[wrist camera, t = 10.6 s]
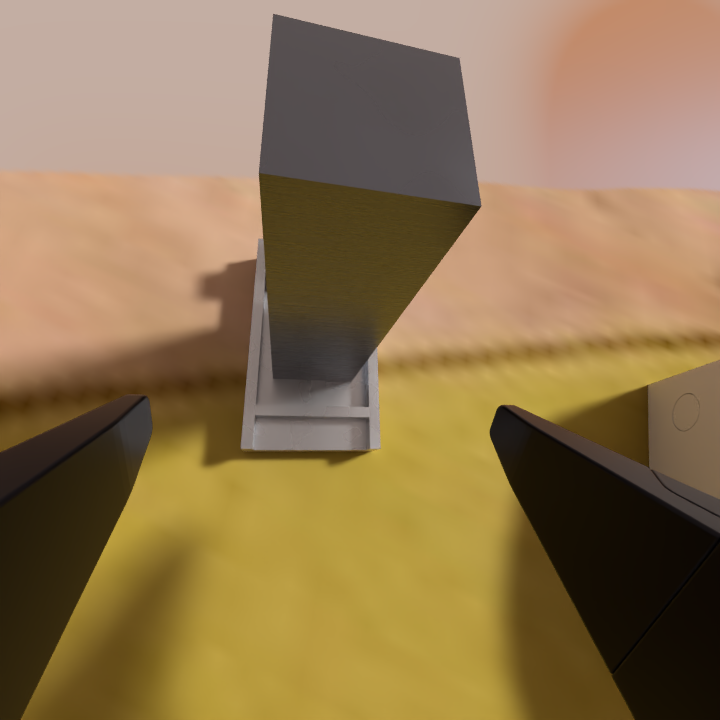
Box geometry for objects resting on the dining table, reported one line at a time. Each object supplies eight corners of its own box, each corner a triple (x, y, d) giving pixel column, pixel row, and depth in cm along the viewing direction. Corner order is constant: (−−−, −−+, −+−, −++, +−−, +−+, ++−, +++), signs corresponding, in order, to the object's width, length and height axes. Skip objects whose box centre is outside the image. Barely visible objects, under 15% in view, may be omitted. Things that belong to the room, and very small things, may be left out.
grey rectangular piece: (371, 451, 19) (390, 445, 16) (244, 451, 18) (236, 445, 14) (366, 268, 22) (381, 232, 19) (260, 257, 21) (256, 217, 18)
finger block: (351, 381, 19) (481, 206, 7) (272, 378, 18) (259, 173, 6) (350, 308, 20) (458, 50, 8) (277, 302, 19) (274, 5, 7)
